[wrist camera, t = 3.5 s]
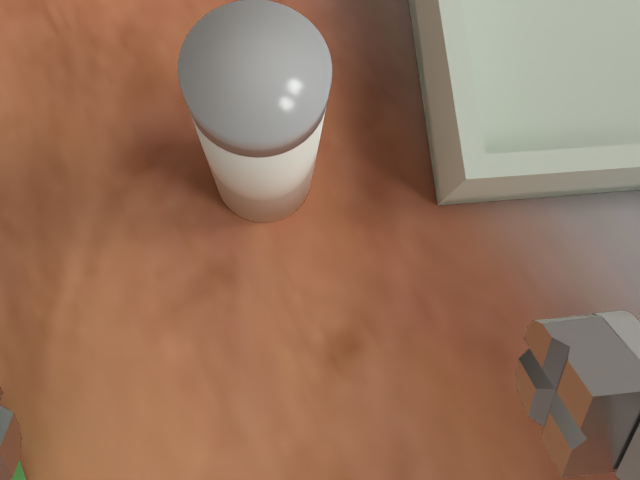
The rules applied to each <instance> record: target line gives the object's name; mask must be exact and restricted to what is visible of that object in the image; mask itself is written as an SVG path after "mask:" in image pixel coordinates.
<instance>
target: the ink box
mask: <svg viewBox="0 0 640 480" xmlns="http://www.w3.org/2000/svg"><path fill="white" fill-rule="evenodd" d="M10 480H26V477H25V475H24V472H23V469H22V466H21V463H20V460H19V462H18V464H17V467H16V470H15V473H14V476H13V478H12V479H10Z"/></svg>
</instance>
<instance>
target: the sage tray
mask: <svg viewBox="0 0 640 480" xmlns="http://www.w3.org/2000/svg"><path fill="white" fill-rule="evenodd" d="M408 2H409V9H410V16H411V23H412V30H413V37H414V44H415V51H416V58H417V65H418V72H419V79H420V86H421V93H422V100H423V107H424V114H425V121H426V128H427V135H428V142H429V149H430V156H431V164H432V171H433V178H434V185H435V192H436V199H437V205H450V204H463V203H476V202H489V201H502V200H515V199H528V198H542V197H555V196H568V195H581V194H594V193H607V192H620V191H633V190H640V0H408Z"/></svg>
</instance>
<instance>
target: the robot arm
mask: <svg viewBox="0 0 640 480" xmlns="http://www.w3.org/2000/svg"><path fill="white" fill-rule="evenodd" d="M524 340H525V341H526V343H527V345H528V346H529V349H528V350H527V351H526V352H525V353H524V354H523V355H522V356H521V357H520V358H519V359H518V363H517V368H516V373H515V376H516V386H517V392H518V395H519V398H520V401H521V404H522V405H523V407H524V409H525V411H526V413H527V415H528V416H529V417H530V418H532V419H533V420H535V421H536V422H538V423H539V424H540V425H542V426H543V427H544V428H543V432H542V437H541V441H542V443H543V445H544V446H545V448H546V450H547V452H548V454H549V456H550V457H551V459H552V461H553V463H554V465H555V467H556V468H557V470H558V472H559V474H560V476H561V477H572V476H581V475H591V474H601V473H611V472H616V473H615V476H617V477H618V478H619V479H620V480H640V322H639V321H638V320H637V319H636V317H635V316H634V315H632V314H631V313H629V312H627V311H625V310H620V311H611V312H602V313H594V314H585V315H576V316H566V317H557V318H548V319H539V320H532V322H531V323H530V324H529V325H528V326H527V329H526V332H525V336H524ZM3 393H4V392H3V391H2V389H1V387H0V400H1V397H2V395H3ZM21 439H22V438H21V433H20V427H19V423H18V421H17V419H16V417H15V415H14V413H13V412H11V411H10V410H8V409H6V408H4V407H3V406H1V405H0V480H10V479H12V478H13V476H14V473H15V470H16V467H17V464H18V462H19V459H20V449H21Z"/></svg>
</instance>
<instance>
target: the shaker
mask: <svg viewBox="0 0 640 480" xmlns="http://www.w3.org/2000/svg"><path fill="white" fill-rule="evenodd" d="M178 77H179V83H180V87H181V90H182V93H183V96H184V98H185V101H186V104H187V107H188V109H189V112H190V115H191V117H192V120H193V123H194V126H195V128H196V131H197V134H198V137H199V139H200V142H201V145H202V147H203V150H204V153H205V156H206V158H207V161H208V164H209V167H210V169H211V172H212V175H213V177H214V180H215V183H216V186H217V188H218V191H219V193H220V196H221V198H222V200H223V201H224V203H225V204H226V205H227V207H228V208H229V209H230V210H231V211H233V212H234V213H235V214H237V215H238V216H240V217H242V218H244V219H246V220H249V221H253V222H259V223H269V222H275V221H279V220H282V219H284V218H286V217H288V216H290V215H292V214H293V213H294V212H295V211H297V210H298V209H299V208H300V207H301V205H302V204H303V203H304V201H305V199H306V198H307V196H308V193H309V190H310V186H311V181H312V176H313V171H314V166H315V161H316V156H317V151H318V146H319V141H320V136H321V131H322V126H323V121H324V116H325V111H326V106H327V101H328V96H329V91H330V86H331V80H332V62H331V56H330V53H329V50H328V47H327V45H326V42H325V40H324V38H323V37H322V35H321V34H320V32H319V31H318V29H317V28H316V27H315V26H314V25H313V24H312V23H311V22H310V21H309V20H308V19H307V18H306V17H304V16H303V15H302V14H300V13H299V12H297V11H295V10H294V9H292V8H290V7H288V6H285V5H282V4H280V3H276V2H272V1H267V0H240V1H235V2H231V3H228V4H225V5H222V6H220V7H218V8H216V9H214V10H212V11H211V12H209V13H208V14H206V15H205V16H204V17H202V18H201V19H200V20H199V21H198V22H197V23H196V24H195V25H194V26H193V27H192V29H191V30H190V32H189V33H188V35H187V36H186V38H185V40H184V42H183V44H182V47H181V50H180V54H179V60H178Z"/></svg>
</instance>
